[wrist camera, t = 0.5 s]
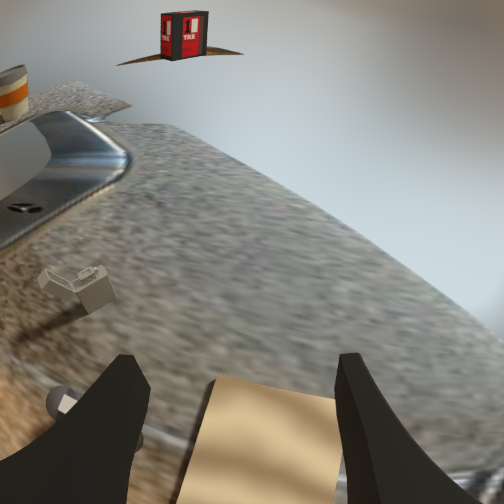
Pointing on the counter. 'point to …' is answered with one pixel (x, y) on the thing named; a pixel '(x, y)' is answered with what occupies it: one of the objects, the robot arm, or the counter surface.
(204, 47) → the cleaning product box
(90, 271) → the lighter
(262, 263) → the counter surface
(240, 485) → the birch board
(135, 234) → the counter surface
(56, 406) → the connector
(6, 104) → the reusable coffee cup
